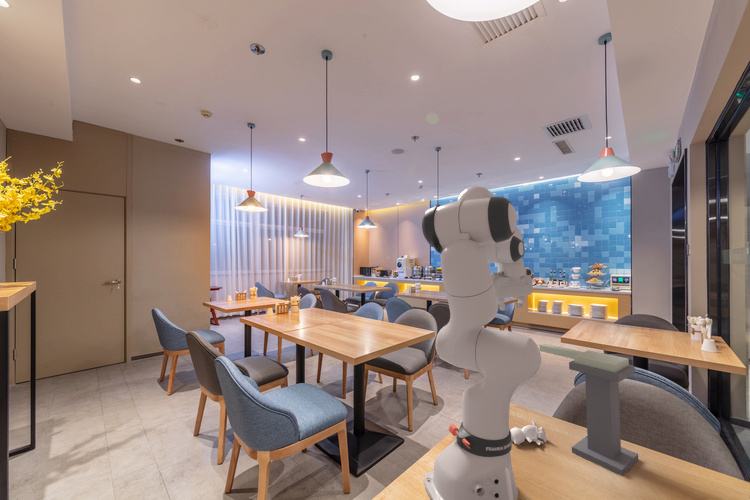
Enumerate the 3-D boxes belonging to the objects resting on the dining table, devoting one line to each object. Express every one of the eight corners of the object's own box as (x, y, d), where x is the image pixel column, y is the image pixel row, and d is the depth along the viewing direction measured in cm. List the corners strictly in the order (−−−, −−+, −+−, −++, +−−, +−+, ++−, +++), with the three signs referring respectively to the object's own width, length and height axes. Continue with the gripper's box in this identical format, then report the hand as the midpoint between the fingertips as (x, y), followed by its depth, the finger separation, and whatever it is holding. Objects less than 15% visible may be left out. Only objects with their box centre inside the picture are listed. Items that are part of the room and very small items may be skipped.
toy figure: (528, 429, 102) (498, 434, 98) (528, 415, 102) (498, 420, 98) (555, 447, 92) (523, 454, 88) (555, 431, 92) (523, 438, 88)
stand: (622, 475, 79) (618, 374, 80) (571, 452, 89) (569, 362, 90) (638, 459, 85) (634, 365, 86) (589, 438, 95) (586, 355, 96)
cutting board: (615, 372, 81) (614, 365, 81) (534, 352, 99) (534, 346, 100) (628, 365, 87) (628, 358, 87) (549, 347, 105) (549, 342, 105)
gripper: (498, 272, 104) (499, 313, 103) (535, 270, 114) (536, 307, 113) (484, 272, 109) (485, 310, 109) (520, 270, 119) (521, 305, 119)
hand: (511, 308), depth 111 cm, fingers open, 8 cm apart
